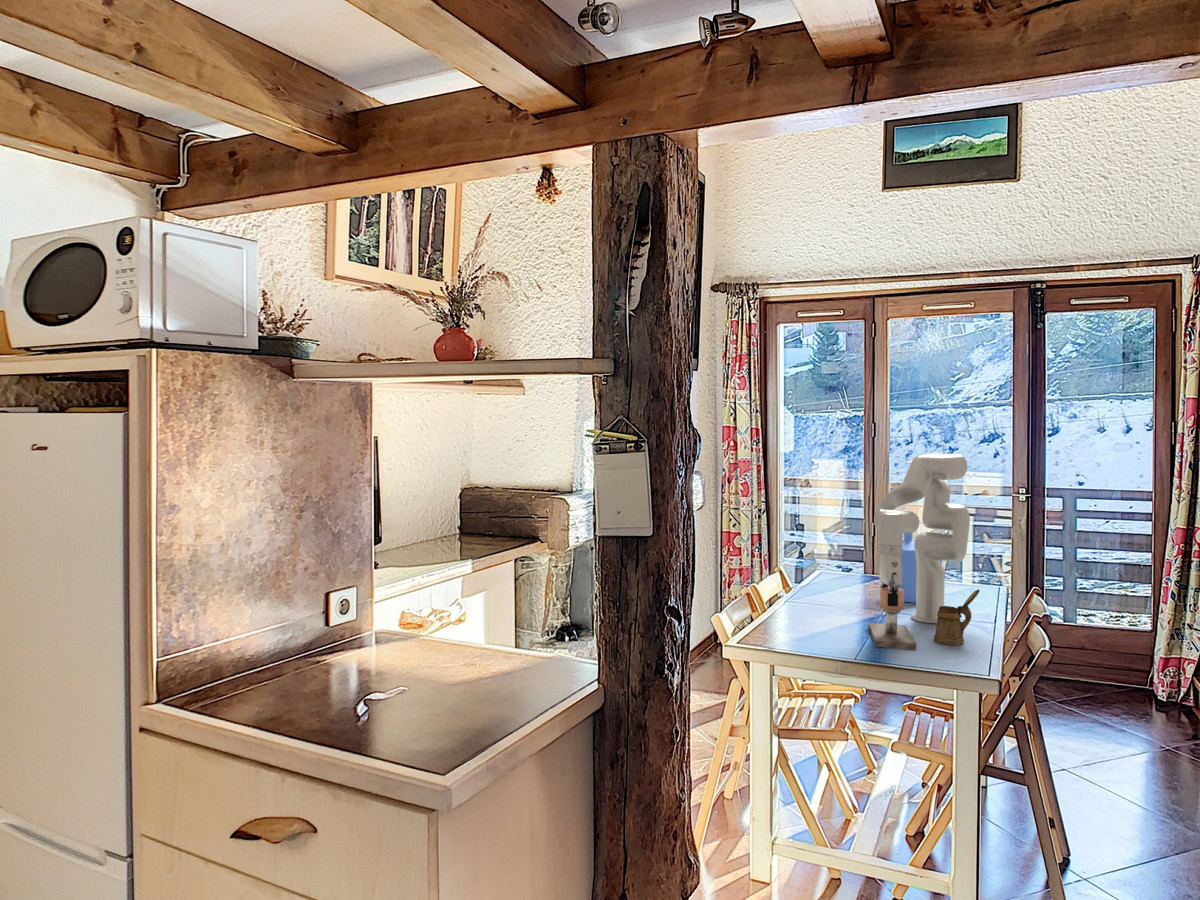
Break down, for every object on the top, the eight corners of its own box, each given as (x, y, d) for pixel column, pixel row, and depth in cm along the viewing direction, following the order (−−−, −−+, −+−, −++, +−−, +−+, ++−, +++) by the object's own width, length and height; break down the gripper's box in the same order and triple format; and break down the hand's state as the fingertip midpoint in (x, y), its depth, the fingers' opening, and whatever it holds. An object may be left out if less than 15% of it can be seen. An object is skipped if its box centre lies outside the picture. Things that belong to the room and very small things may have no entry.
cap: (896, 611, 270) (896, 592, 270) (875, 607, 276) (875, 588, 276) (907, 608, 275) (908, 589, 275) (887, 604, 281) (887, 585, 281)
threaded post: (899, 631, 278) (899, 607, 278) (901, 635, 273) (901, 611, 272) (881, 630, 279) (881, 606, 279) (883, 634, 274) (883, 610, 274)
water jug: (923, 595, 344) (924, 528, 343) (931, 604, 328) (932, 533, 327) (883, 594, 347) (884, 527, 346) (889, 602, 331) (891, 532, 330)
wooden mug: (979, 648, 265) (980, 592, 265) (933, 643, 270) (934, 588, 269) (977, 641, 273) (979, 586, 273) (933, 637, 278) (934, 583, 278)
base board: (905, 630, 286) (905, 625, 286) (916, 649, 263) (916, 643, 263) (868, 628, 289) (868, 623, 289) (876, 647, 266) (876, 641, 266)
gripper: (910, 554, 266) (908, 609, 267) (893, 546, 284) (892, 598, 284) (886, 553, 267) (884, 608, 267) (871, 546, 284) (870, 597, 285)
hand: (888, 603), depth 276 cm, fingers closed on cap, 7 cm apart
